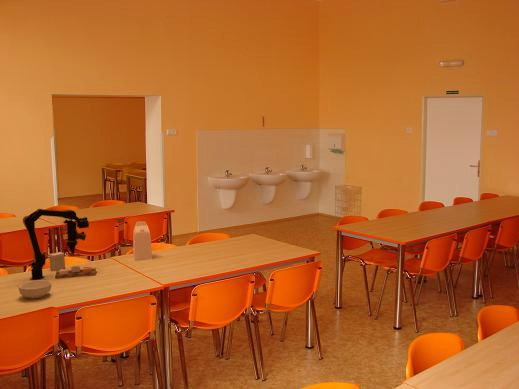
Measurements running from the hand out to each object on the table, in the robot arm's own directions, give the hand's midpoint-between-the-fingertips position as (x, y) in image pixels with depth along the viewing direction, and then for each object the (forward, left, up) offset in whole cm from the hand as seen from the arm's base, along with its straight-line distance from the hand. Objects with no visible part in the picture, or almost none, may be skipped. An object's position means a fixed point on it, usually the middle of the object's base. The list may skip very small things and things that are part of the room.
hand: (73, 253), depth 352 cm
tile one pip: (-8, +2, -11) cm, 14 cm away
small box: (+6, +16, -13) cm, 21 cm away
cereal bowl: (-48, -5, -13) cm, 50 cm away
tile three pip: (-2, -10, -11) cm, 15 cm away
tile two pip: (-5, -4, -10) cm, 12 cm away
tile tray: (-5, -4, -12) cm, 14 cm away
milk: (+42, -28, -13) cm, 52 cm away
